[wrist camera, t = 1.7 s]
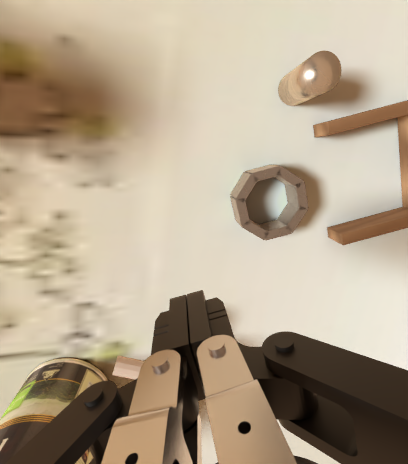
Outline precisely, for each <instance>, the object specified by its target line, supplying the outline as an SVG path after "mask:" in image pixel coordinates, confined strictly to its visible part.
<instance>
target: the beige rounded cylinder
mask: <svg viewBox="0 0 408 464" xmlns="http://www.w3.org/2000/svg"><path fill="white" fill-rule="evenodd" d="M340 76H341V64H340V61H339V59H338V58H337V56H336V55H335V54H333V53H332V52H329V51H320V52H317V53H315V54H314V55H312V56H311V57H310V58H308V59H307V60H306V61H304V62H303V63H302V64H300V65H299V66H298V67H296V68H295V69H294V70H292V71H291V72H289V73H288V74H287V75H285V76H284V77H283V78H282V80H281V81H280V84H279V88H278V93H279V97H280V99H281V100H282V101H283V102H284V103H285V104H287V105H290V106H295V105H298V104H300V103H303V102H305V101H307V100H310V99H312V98H314V97H317V96H319V95H321V94H324V93H326V92H328V91H330V90H332V89H333V88H334V87H335V86H336V85H337V83H338V81H339V79H340Z"/></svg>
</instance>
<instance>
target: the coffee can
mask: <svg viewBox="0 0 408 464" xmlns="http://www.w3.org/2000/svg"><path fill="white" fill-rule="evenodd" d="M101 381H108V380H107V378H106V376H105V375H104V374H103V373H102V372H101V371H100V370H99V369H98V368H97V367H95V366H94V365H92V364H90V363H88V362H85V361H83V360H79V359H74V358H59V359H53V360H50V361H47V362H45V363H43V364H41V365H39V366H38V367H36V368H35V369H34V370H33V371H32V372H31V373H30V374H29V376H28V377H27V379H26V381H25V383H24V384H23V386H22V387H21V389H20V390H19V392H18V393H17V395H16V396H15V398H14V400H13V401H12V402H11V404H10V405H9V407H8V408H7V410H6V411H5V413H4V415H3V416H2V418H1V419H0V464H5V463H6V462H7V461H9V460H10V459H11V458H12V457H13V456H14V455H15V454H16V453H17V452H18V451H19V450H20V449H21V448H22V447H24V446H25V445H26V444H27V443H28V442H29V441H30V440H31V439H32V438H33V437H34V436H35V435H36V434H38V433H39V432H40V431H41V430H42V429H43V428H44V427H45V426H46V425H47V424H48V423H49V422H50V421H52V420H53V419H54V418H55V417H56V416H57V415H58V414H59V413H60V412H61V411H62V410H63V409H64V408H65V407H67V406H68V405H69V404H70V403H71V402H72V401H73V400H74V399H75V398H76V397H77V396H78V395H79V394H81V393H82V392H83V391H84V390H85V389H87V388H88V387H90V386H91V385H93V384H95V383H98V382H101ZM92 459H93V456H92V454H91V452H90V450H89V448H88V450H87V451H86V452H85V453H84V454H83V455H82V456H81V457H80V459H79V460H78V461H77V462H76V463H75V464H89V463H90V462H91V460H92Z"/></svg>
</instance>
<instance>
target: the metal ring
mask: <svg viewBox="0 0 408 464" xmlns="http://www.w3.org/2000/svg"><path fill="white" fill-rule="evenodd" d="M272 177H274V178H276V179H277V180H279V181H281V182H282V183H284V184H285V189H286V195H287V201H288V204H287V205H286V207H285V208H284V210H283V211H282V213H281V214H280V216H279V217H278V219H277V220H274V221H270V222H266V223H262V224H257V223H255V222H254V221H252V220H250V219H249V216H248V211H247V206H246V202H245V200H246V199H247V197H248V195H249V194H250V192H251V191H252V189H253V187H254V186H255V184H256V182H257V181H261V180H265V179H268V178H272ZM303 181H304V180H302V179H301V178H299V177H297V176H296V175H294V174H293V173H291V172H290V171H288V170H287V169H285V168H284V167H282V166H278V165H267V166H263V167H259V168H256V169H252V170H248V171H245V172H244V173H243V174H242V176H241V178H240V179H239V181H238V183H237V184H236V186H235V188H234V189H233V191H232V192H231V194H230V195H231V196H230V198H231V202H232V207H233V211H234V216H235V220H236V221H237V222H238V223H239V224H240V226H241V227H242V228H244V229H246V230H248V231H249V232H251V233H253V234H254V235H256V236H258V237H260V238H261V239H263V240H269V239H273V238H277V237H281V236H284V235H288V234H292V233H293V231H294V230H295V229H296V227H297V226H298V224H299V223H300V221H301V220H302V218H303V217H304V215H305V214H306V212H307V211H308V202H307V196H306V189H305V183H304V182H303ZM291 232H292V233H291Z"/></svg>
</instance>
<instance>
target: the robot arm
mask: <svg viewBox="0 0 408 464" xmlns="http://www.w3.org/2000/svg"><path fill="white" fill-rule="evenodd" d="M154 329H155V330H154V336H153V343H152V351H151V356H150V357H148V358H147V359H146V360H145V361H144V363H143V364H142V366H141V369H140V372H139V376H138V378H137V379H135V380H134V381H132V382H130V383H129V384H127V385H125V386H123V387H121V388H119V389H117V386H116V384H115V383H114V382H112V381H101V382H98V383H95V384H93V385H91V386H90V387H88V388H87V389H85V390H84V391H83V392H82V393H81V394H79V395H78V396H77V397H76V398H75V399H74V400H73V401H72V402H71V403H70V404H69V405H68V406H67V407H65V408H64V409H63V410H62V411H61V412H60V413H59V414H58V415H57V416H56V417H55V418H54V419H53V420H52V421H50V422H49V423H48V424H47V425H46V426H45V427H44V428H43V429H42V430H41V431H40V432H39V433H38V434H36V435H35V436H34V437H33V438H32V439H31V440H30V441H29V442H28V443H27V444H26V445H25V446H24V447H22V448H21V449H20V450H19V451H18V452H17V453H16V454H15V455H14V456H13V457H12V458H11V459H10V460H9V461H7V462H6V463H5V464H75V463H76V462H77V461H78V460H79V459H80V457H81V456H82V455H83V454H84V453H85V452H86V451H87V450H88V448H89V450H90V452H91V454H92V456H93V459H92V460H91V462H90V463H89V464H202V446H201V418H200V415H199V403H198V401H199V400H203V399H205V402H206V407H207V411H208V416H209V421H210V426H211V430H212V435H213V440H214V444H215V449H216V454H217V459H218V463H216V464H317V463H315V462H313V461H310V460H308V459H305V458H302V457H298V456H293V454H292V452H291V450H290V448H289V446H288V443H287V441H286V439H285V437H284V435H283V433H282V431H281V429H280V426H279V424H278V422H277V420H276V419H279V422H280V423H281V425H282V426H283V427H284V428H285V429H287V430H288V431H290V432H291V433H293V434H294V435H296V436H298V437H299V438H301V439H302V440H304V441H306V442H307V443H309V444H310V445H312V446H314V447H315V448H317V449H318V450H320V451H322V452H323V453H325V454H326V455H328V456H329V457H331V458H333V459H334V460H336V461H337V462H339V463H341V464H408V370H405V369H402V368H399V367H396V366H393V365H390V364H387V363H384V362H381V361H378V360H375V359H372V358H369V357H366V356H363V355H360V354H357V353H354V352H351V351H348V350H345V349H342V348H339V347H336V346H333V345H330V344H327V343H324V342H321V341H318V340H315V339H312V338H309V337H306V336H303V335H300V334H297V333H293V332H278V333H275V334H273V335H271V336H269V337H268V338H267V339H266V340H265V341H264V342H263V345H262V347H248V346H244V345H242V344H240V343H238V342H237V341H236V339H235V338H234V335H233V332H232V329H231V325H230V322H229V319H228V316H227V313H226V310H225V307H224V304H223V302H222V301H221V300H219V299H218V298H213V299H209V300H205V296H204V293H203V290H201V291H197V292H193V293H190V294H187V296H186V295H183V296H179V297H175V298H172V299H170V307H169V311H166V312H162V313H160V315H159V316H158V318H157V319H156V321H155V328H154ZM205 394H206V397H205Z"/></svg>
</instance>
